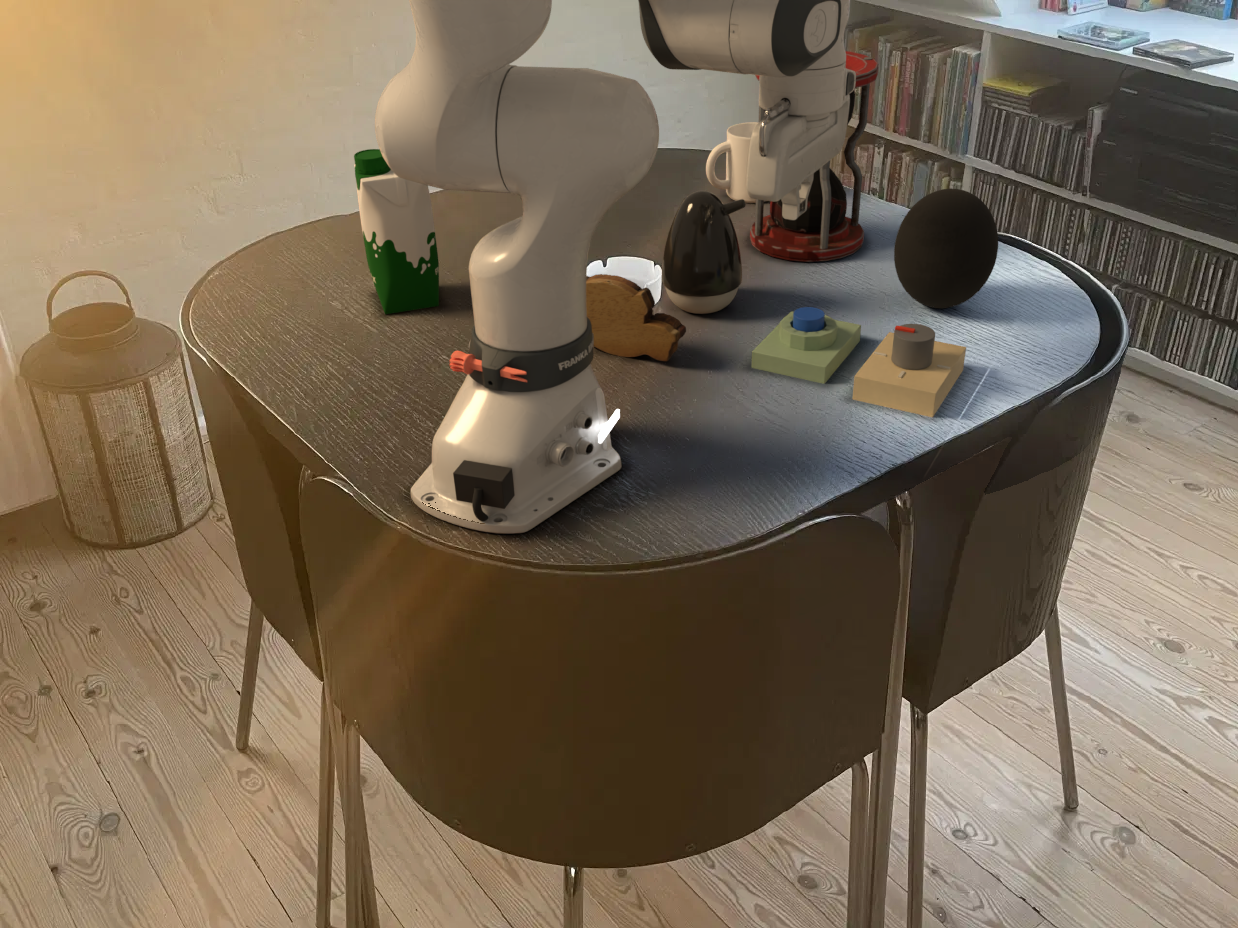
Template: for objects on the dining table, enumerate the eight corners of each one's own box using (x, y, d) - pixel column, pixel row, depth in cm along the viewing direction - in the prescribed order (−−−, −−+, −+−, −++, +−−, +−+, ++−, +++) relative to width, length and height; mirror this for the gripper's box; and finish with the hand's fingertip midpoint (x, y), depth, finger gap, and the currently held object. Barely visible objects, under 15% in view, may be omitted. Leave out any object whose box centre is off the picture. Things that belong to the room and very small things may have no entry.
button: (817, 336, 135) (818, 322, 134) (788, 330, 136) (788, 316, 136) (828, 323, 138) (829, 310, 137) (799, 318, 139) (800, 304, 138)
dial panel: (932, 417, 126) (936, 392, 124) (852, 399, 130) (854, 374, 128) (963, 370, 134) (966, 345, 133) (886, 354, 138) (889, 330, 137)
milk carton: (369, 292, 158) (346, 146, 147) (436, 282, 160) (418, 137, 149) (379, 319, 151) (355, 167, 140) (448, 308, 153) (430, 157, 142)
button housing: (824, 384, 133) (826, 352, 131) (751, 368, 137) (752, 337, 134) (860, 341, 141) (862, 311, 139) (790, 327, 145) (791, 297, 143)
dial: (936, 356, 131) (940, 325, 129) (925, 373, 128) (929, 341, 126) (897, 348, 133) (901, 318, 131) (886, 365, 130) (889, 334, 128)
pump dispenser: (738, 325, 146) (740, 208, 138) (655, 320, 148) (653, 204, 140) (747, 291, 154) (750, 179, 146) (669, 287, 156) (668, 176, 148)
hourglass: (736, 226, 174) (740, 53, 161) (840, 216, 176) (852, 44, 163) (769, 268, 161) (776, 82, 147) (880, 256, 163) (898, 72, 150)
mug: (715, 210, 180) (716, 144, 174) (696, 193, 187) (696, 129, 181) (787, 199, 183) (790, 134, 177) (765, 183, 190) (767, 119, 184)
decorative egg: (926, 277, 157) (939, 167, 149) (1008, 304, 149) (1026, 189, 141) (869, 305, 150) (879, 191, 142) (951, 335, 142) (967, 217, 134)
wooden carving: (692, 356, 139) (693, 278, 134) (677, 373, 136) (676, 294, 131) (570, 333, 146) (566, 257, 140) (553, 348, 142) (547, 272, 137)
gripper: (792, 116, 114) (785, 251, 121) (861, 70, 129) (852, 192, 136) (732, 110, 117) (729, 242, 124) (807, 65, 132) (801, 185, 139)
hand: (794, 215), depth 130 cm, fingers closed
